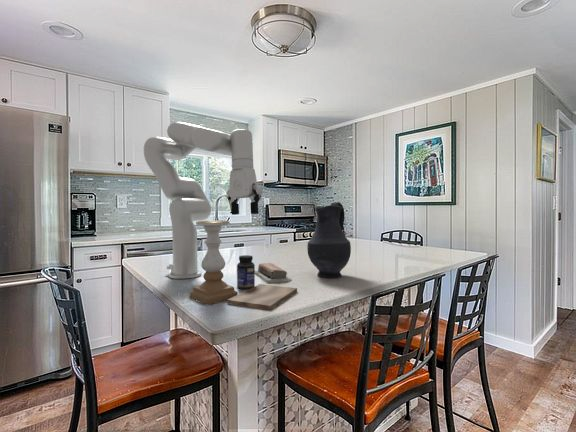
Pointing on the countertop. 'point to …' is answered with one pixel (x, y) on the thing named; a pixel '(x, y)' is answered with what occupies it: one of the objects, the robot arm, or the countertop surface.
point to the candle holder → (213, 268)
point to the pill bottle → (245, 272)
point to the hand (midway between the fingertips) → (244, 214)
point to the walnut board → (262, 296)
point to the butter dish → (271, 273)
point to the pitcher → (329, 242)
